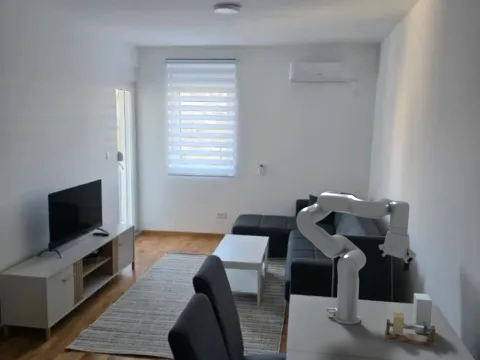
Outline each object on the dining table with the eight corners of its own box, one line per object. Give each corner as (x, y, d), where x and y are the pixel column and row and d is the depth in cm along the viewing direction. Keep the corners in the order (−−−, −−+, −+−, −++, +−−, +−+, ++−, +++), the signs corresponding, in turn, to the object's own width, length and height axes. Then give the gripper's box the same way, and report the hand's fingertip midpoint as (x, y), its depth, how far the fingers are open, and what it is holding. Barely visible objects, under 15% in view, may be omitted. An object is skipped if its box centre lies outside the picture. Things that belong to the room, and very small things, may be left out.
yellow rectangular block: (393, 332, 191) (394, 316, 190) (392, 327, 195) (393, 312, 194) (402, 333, 189) (404, 318, 188) (402, 328, 194) (403, 313, 193)
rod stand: (385, 339, 191) (386, 321, 190) (384, 333, 197) (386, 315, 196) (435, 347, 186) (437, 328, 185) (433, 340, 192) (435, 322, 190)
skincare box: (430, 334, 197) (433, 301, 194) (414, 333, 198) (417, 299, 196) (426, 326, 205) (429, 293, 203) (411, 324, 206) (413, 292, 204)
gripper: (375, 227, 197) (373, 264, 199) (412, 235, 184) (409, 275, 186) (385, 224, 202) (382, 261, 204) (421, 232, 188) (418, 271, 191)
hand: (395, 268), depth 195 cm, fingers open, 9 cm apart
